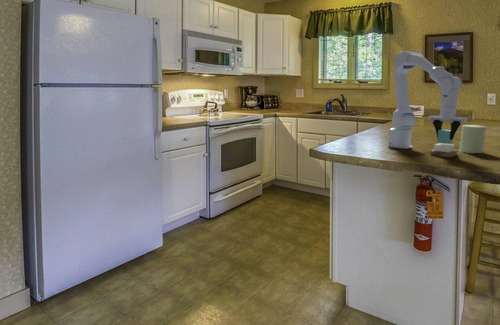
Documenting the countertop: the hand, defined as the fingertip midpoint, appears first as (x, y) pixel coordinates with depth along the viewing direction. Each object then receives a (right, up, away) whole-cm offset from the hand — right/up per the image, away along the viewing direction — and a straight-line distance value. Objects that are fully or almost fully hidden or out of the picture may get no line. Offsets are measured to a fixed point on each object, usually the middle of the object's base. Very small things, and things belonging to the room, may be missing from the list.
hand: (445, 138), depth 155 cm
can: (+16, -5, +9) cm, 19 cm away
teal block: (0, -1, 0) cm, 1 cm away
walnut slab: (0, -7, +2) cm, 8 cm away
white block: (0, -5, +1) cm, 5 cm away
